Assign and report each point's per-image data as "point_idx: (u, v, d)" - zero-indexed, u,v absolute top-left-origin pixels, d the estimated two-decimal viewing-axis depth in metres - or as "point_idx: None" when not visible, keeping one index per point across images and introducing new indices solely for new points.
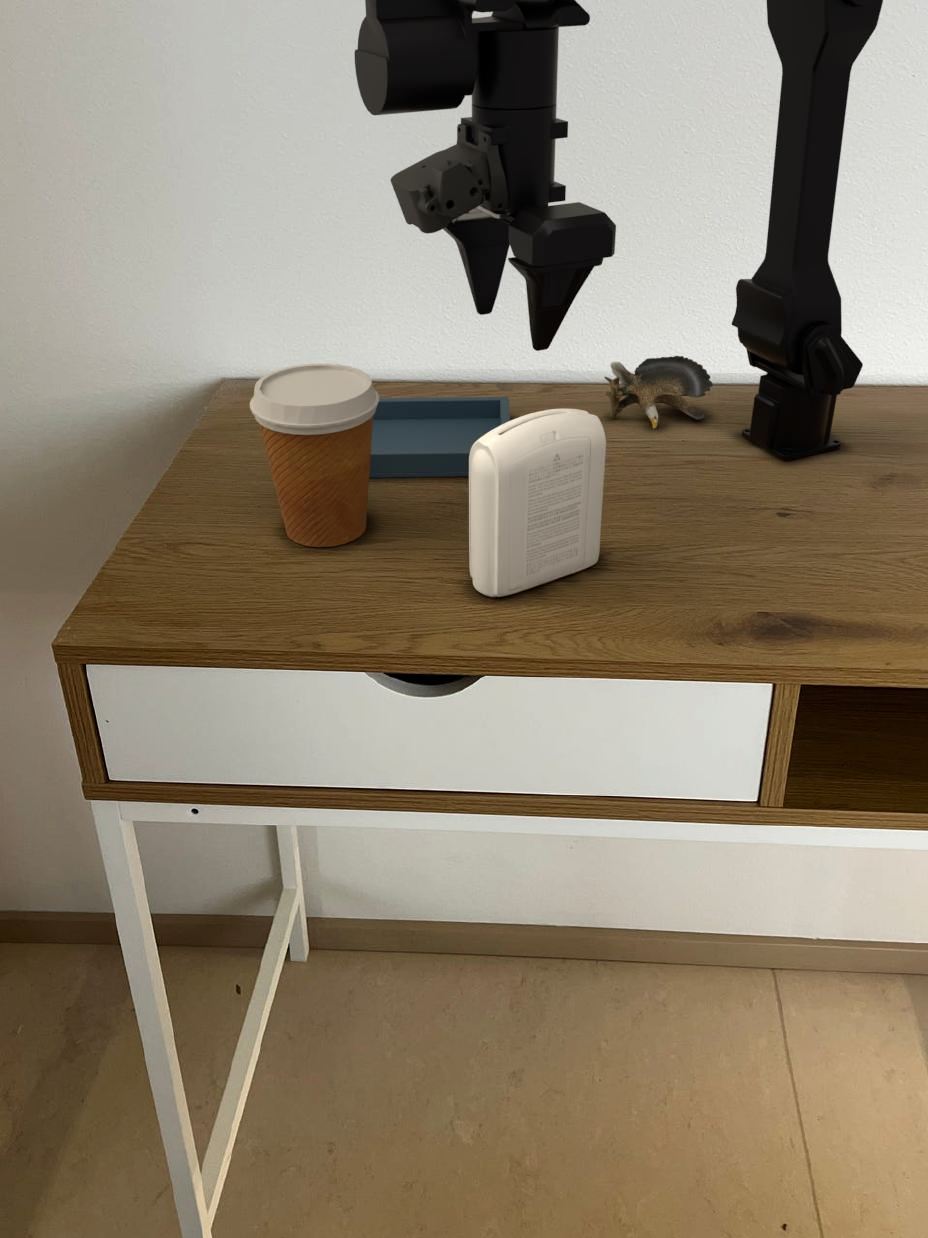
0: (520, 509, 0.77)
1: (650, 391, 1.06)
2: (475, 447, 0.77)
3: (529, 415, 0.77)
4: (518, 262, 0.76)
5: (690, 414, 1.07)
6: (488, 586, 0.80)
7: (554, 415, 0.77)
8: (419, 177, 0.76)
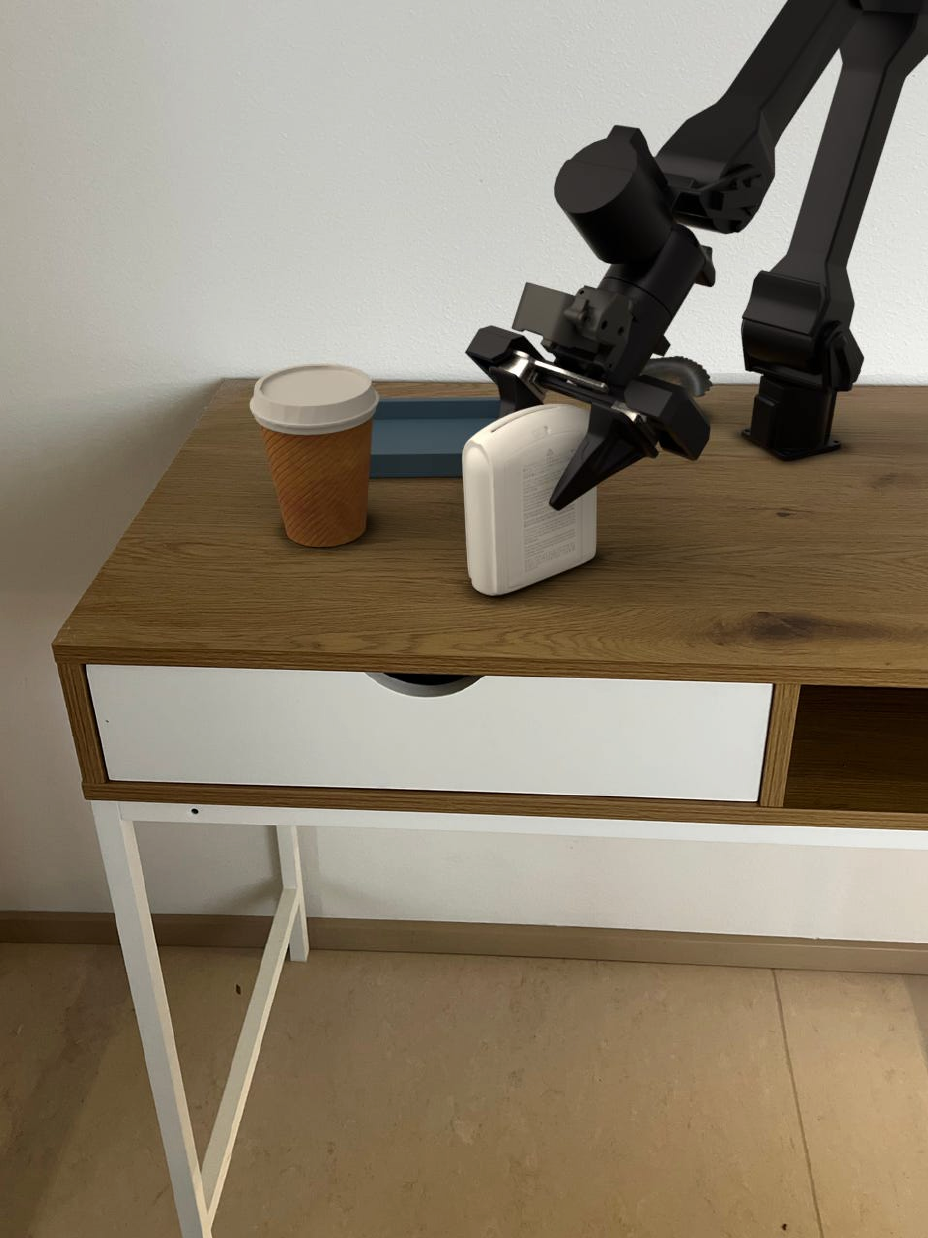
0: (516, 505, 0.78)
1: None
2: (468, 446, 0.77)
3: (520, 412, 0.78)
4: None
5: None
6: (488, 584, 0.80)
7: (545, 410, 0.78)
8: None
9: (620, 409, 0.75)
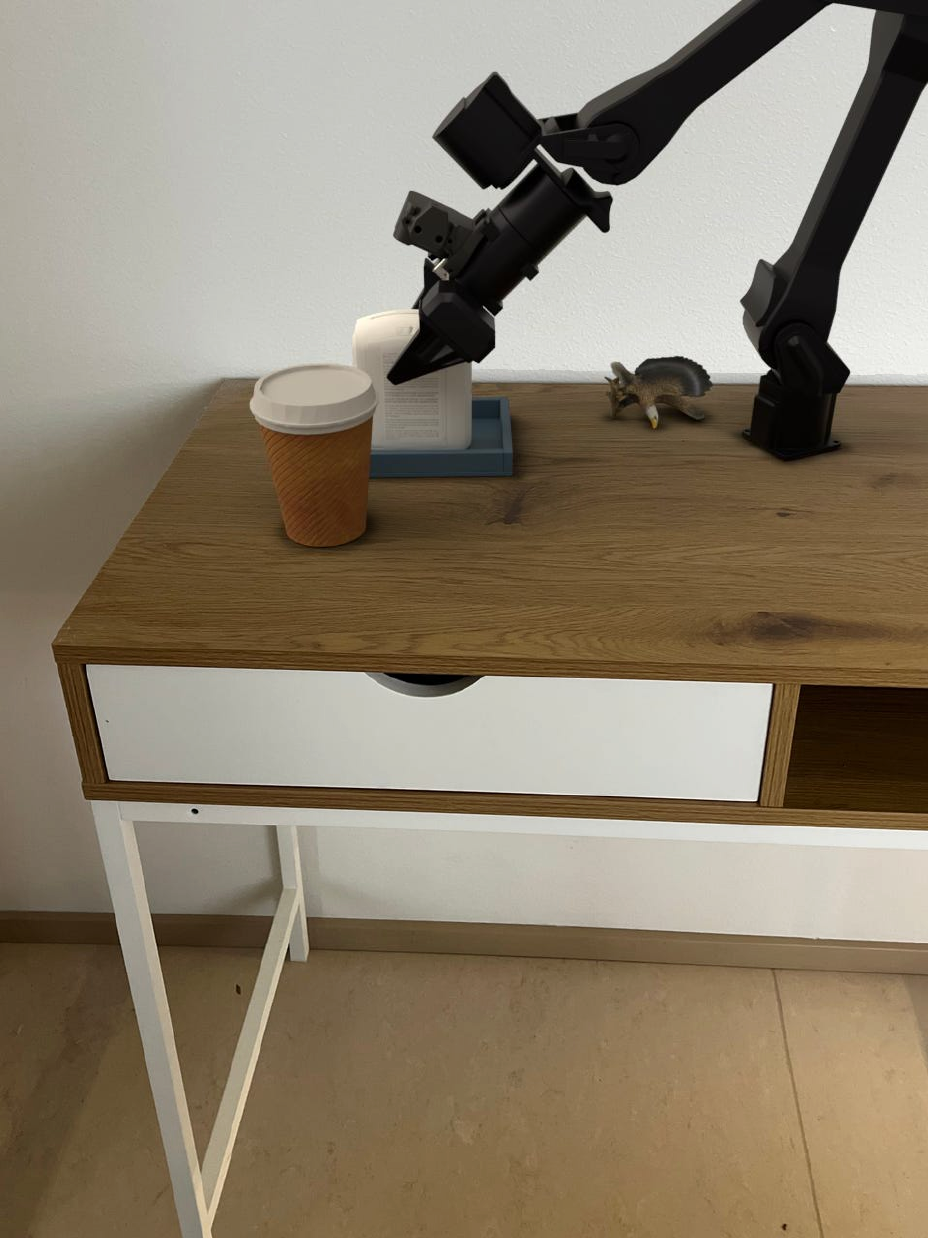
0: (376, 382, 0.97)
1: (650, 391, 1.06)
2: None
3: (404, 310, 0.95)
4: (421, 305, 0.90)
5: (690, 414, 1.07)
6: None
7: None
8: (423, 203, 0.91)
9: None
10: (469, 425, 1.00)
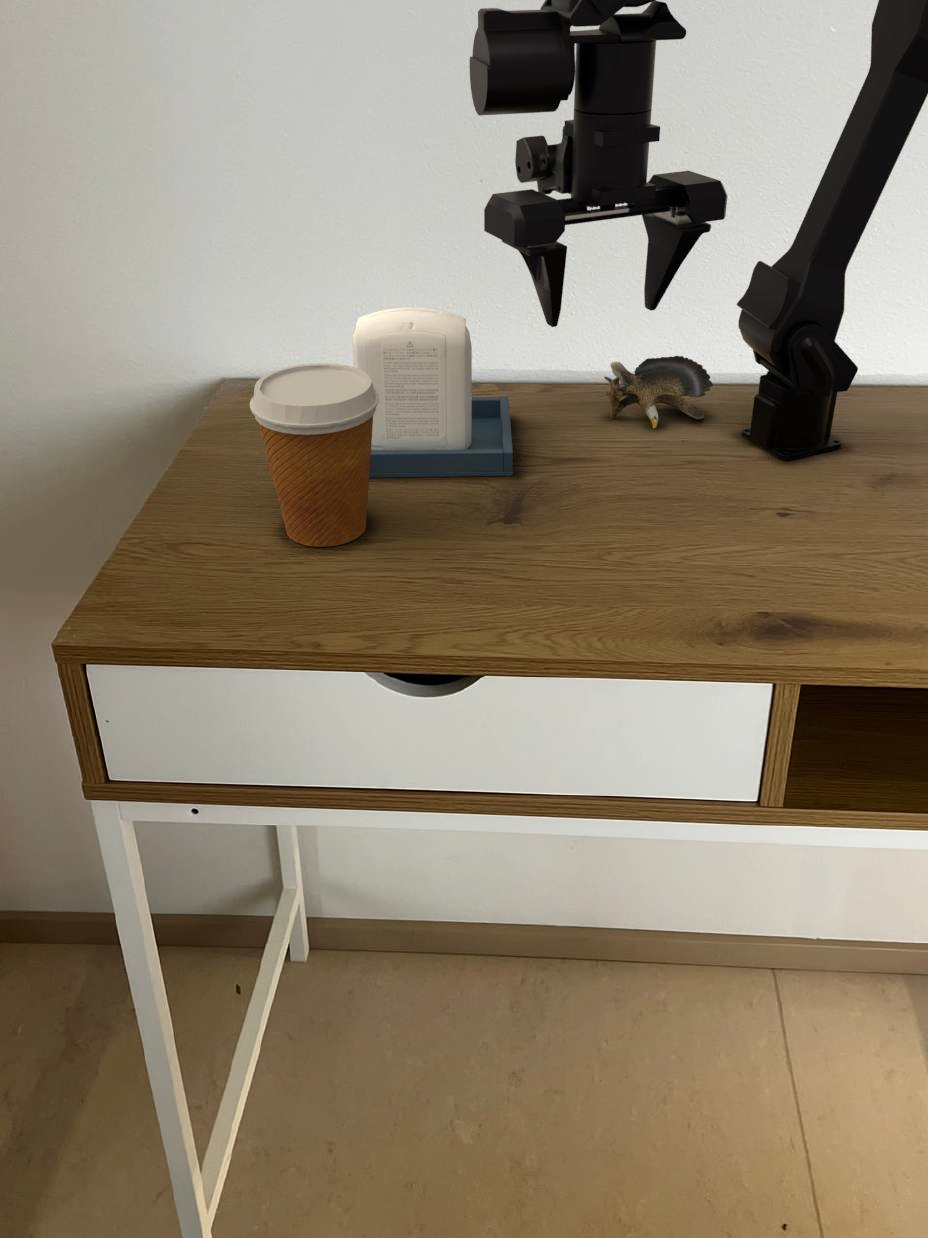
0: (377, 379, 0.97)
1: (650, 391, 1.06)
2: None
3: (404, 308, 0.96)
4: None
5: (690, 414, 1.07)
6: None
7: (421, 311, 0.95)
8: None
9: None
10: (469, 425, 1.01)
